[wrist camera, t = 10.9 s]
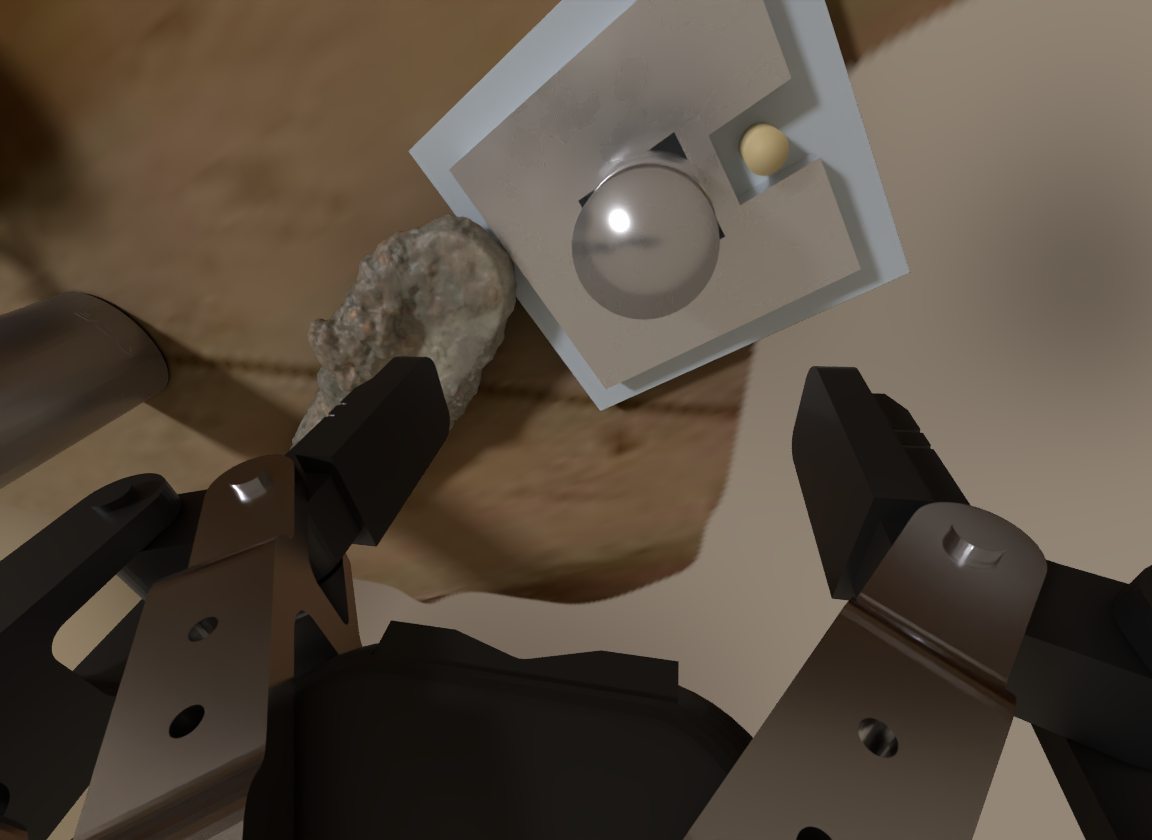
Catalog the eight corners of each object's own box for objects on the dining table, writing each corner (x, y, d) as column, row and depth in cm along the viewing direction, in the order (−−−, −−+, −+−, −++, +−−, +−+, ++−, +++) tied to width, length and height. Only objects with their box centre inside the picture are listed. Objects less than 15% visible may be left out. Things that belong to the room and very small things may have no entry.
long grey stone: (284, 465, 45) (376, 515, 48) (245, 509, 42) (348, 560, 44) (405, 151, 23) (566, 278, 26) (344, 184, 19) (541, 329, 22)
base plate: (603, 398, 32) (593, 439, 29) (421, 147, 25) (377, 160, 21) (898, 262, 24) (936, 296, 20) (757, -179, 16) (776, -246, 13)
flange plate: (609, 375, 29) (592, 441, 24) (461, 164, 23) (397, 191, 18) (851, 258, 23) (900, 314, 18) (728, -75, 17) (747, -137, 12)
